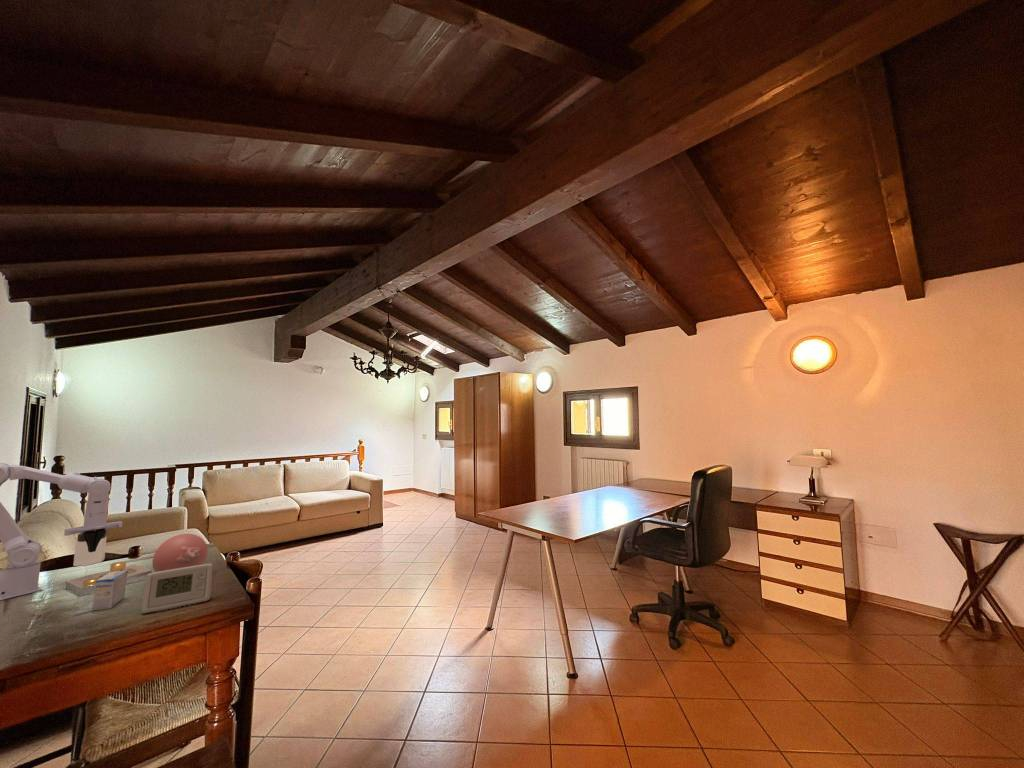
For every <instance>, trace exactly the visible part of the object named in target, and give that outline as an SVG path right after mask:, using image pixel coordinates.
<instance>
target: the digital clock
mask: <svg viewBox="0 0 1024 768" xmlns="http://www.w3.org/2000/svg"><path fill="white" fill-rule="evenodd" d="M213 569H214V565H213V563H204V564H203V565H194V566H188V567H181V568H175V569H169V570H165V571H159V572H155V571H154V572H151V573H149V574H148V575H147V577H146V579H145V583H144V590H143V595H142V596H143V597H142V603H141V611H140V612H141V614H148V613H154V612H157V613H159V612H162V611H163V610H164V611H168V609H169V610H172V609H173V608H174V609H177V607H179V608H182V607H181V606H184V607H187V606H186V605H188V606H192V605H191V604H193V605H196V604H199V603H204V602H207V601H209V600H210V599H211V593H212V578H213Z"/></svg>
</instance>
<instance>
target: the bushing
mask: <svg viewBox="0 0 1024 768" xmlns="http://www.w3.org/2000/svg"><path fill="white" fill-rule="evenodd" d="M126 567H127V562H126V561H119V562H114V563H110V565H109V571H110V572H116V571H125V570H126Z"/></svg>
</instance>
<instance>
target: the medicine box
mask: <svg viewBox="0 0 1024 768" xmlns="http://www.w3.org/2000/svg"><path fill="white" fill-rule="evenodd" d="M126 577H127V571H116V572H110V573H108V574H106V575H105V576H103V577H101V578H100V579H98V580H97V581H96V582H95V591H94V593H93V601H92V607H91V608H92V610H91V611H100V610H101V611H102V610H107V609H111V608H112V607H114V606H116V604H118V603H119V602H120V601H122V600H123V599H124V598H125V593H126V586H127V584H126Z"/></svg>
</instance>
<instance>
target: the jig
mask: <svg viewBox="0 0 1024 768" xmlns="http://www.w3.org/2000/svg"><path fill="white" fill-rule="evenodd" d="M125 571H127V577H126V585H128V584H132V583H136V582H139V581H143V580H146V577H147V575H148V574H149V573H153V572H152V570H151V569H148V568H147V567H146V568H145V567H143V566H140V565H137V564H133V565H128V566H127V565H126V570H125ZM108 573H110V570H107V571H103V572H99V573H95V574H90V575H86V576H82V577H78V578H77V577H76V578H73V579H69V580H65V582H64V583H65V585H64V589H65V590H66V589H67V590H66V591H68V590H69V591H68V592H70V591H71V593H72V592H73V593H72V594H74V595H76V596H77V597H84V596H88V595H90V594H94V591H95V582H96V581H97V580H98V579H100V578H101V577H103V576H105V575H106V574H108Z"/></svg>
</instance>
